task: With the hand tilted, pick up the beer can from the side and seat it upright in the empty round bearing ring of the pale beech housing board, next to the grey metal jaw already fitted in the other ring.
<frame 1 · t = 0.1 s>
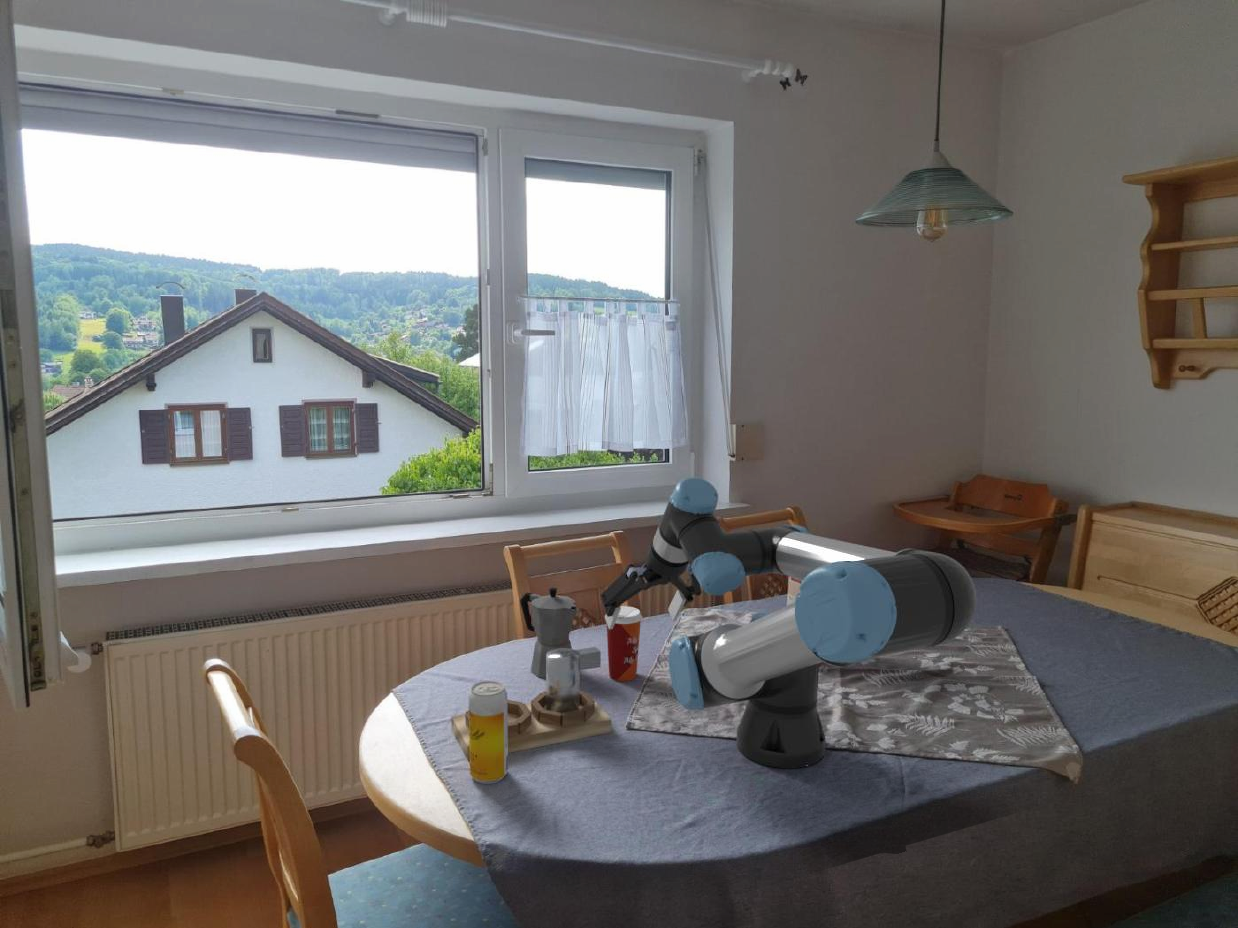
hand: (640, 619, 167), 15 cm above the table, tool tilted 35°, fingers open, 13 cm apart
cracker box: (817, 660, 188), on the table
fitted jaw: (562, 724, 156), resting on housing
housing: (531, 730, 154), on the table
paper cup: (622, 676, 178), on the table
beer can: (489, 776, 139), on the table
coffeepot: (549, 670, 181), on the table
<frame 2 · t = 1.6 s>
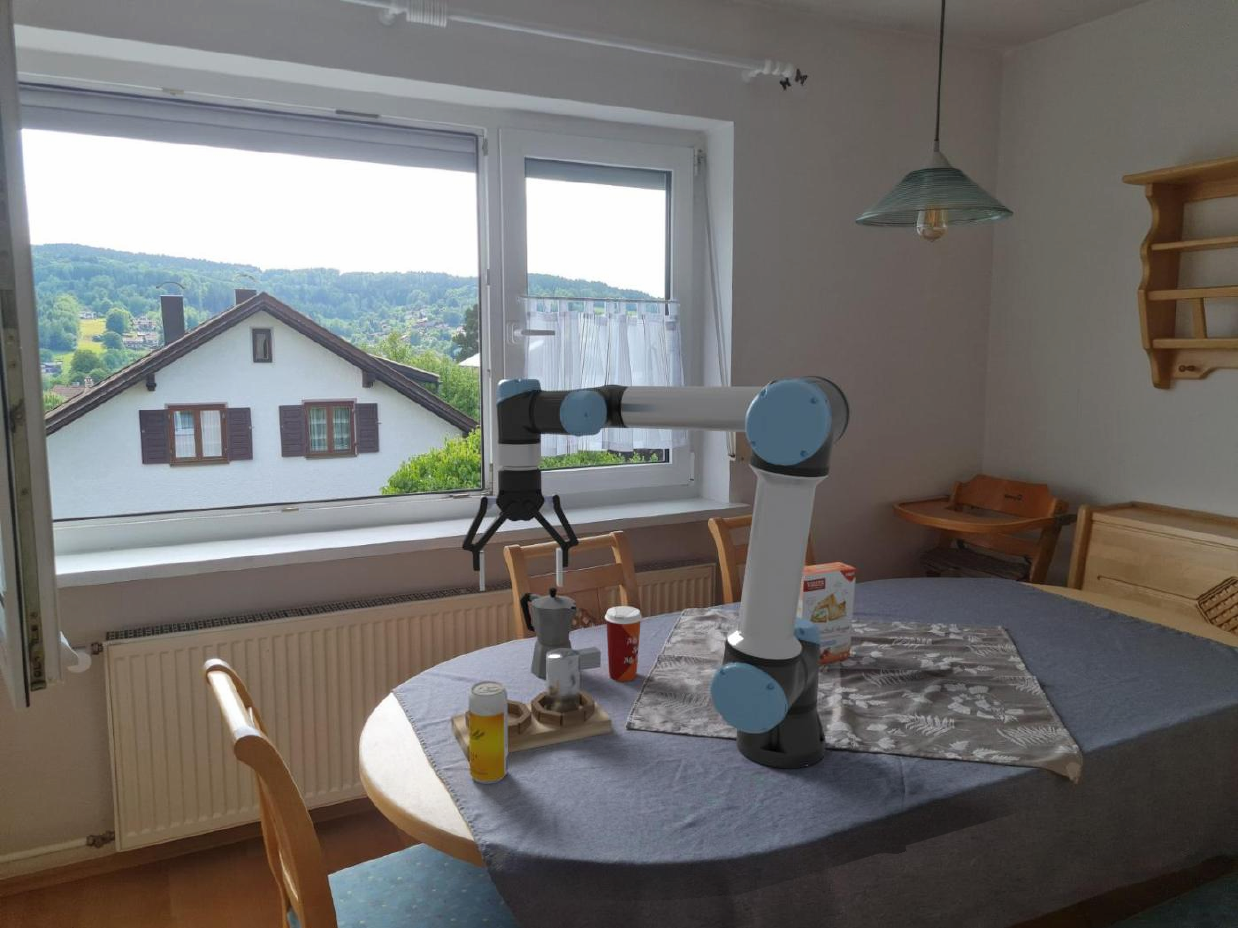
hand: (521, 587, 152), 26 cm above the table, tool pointing down, fingers open, 13 cm apart
nothing on the table moved.
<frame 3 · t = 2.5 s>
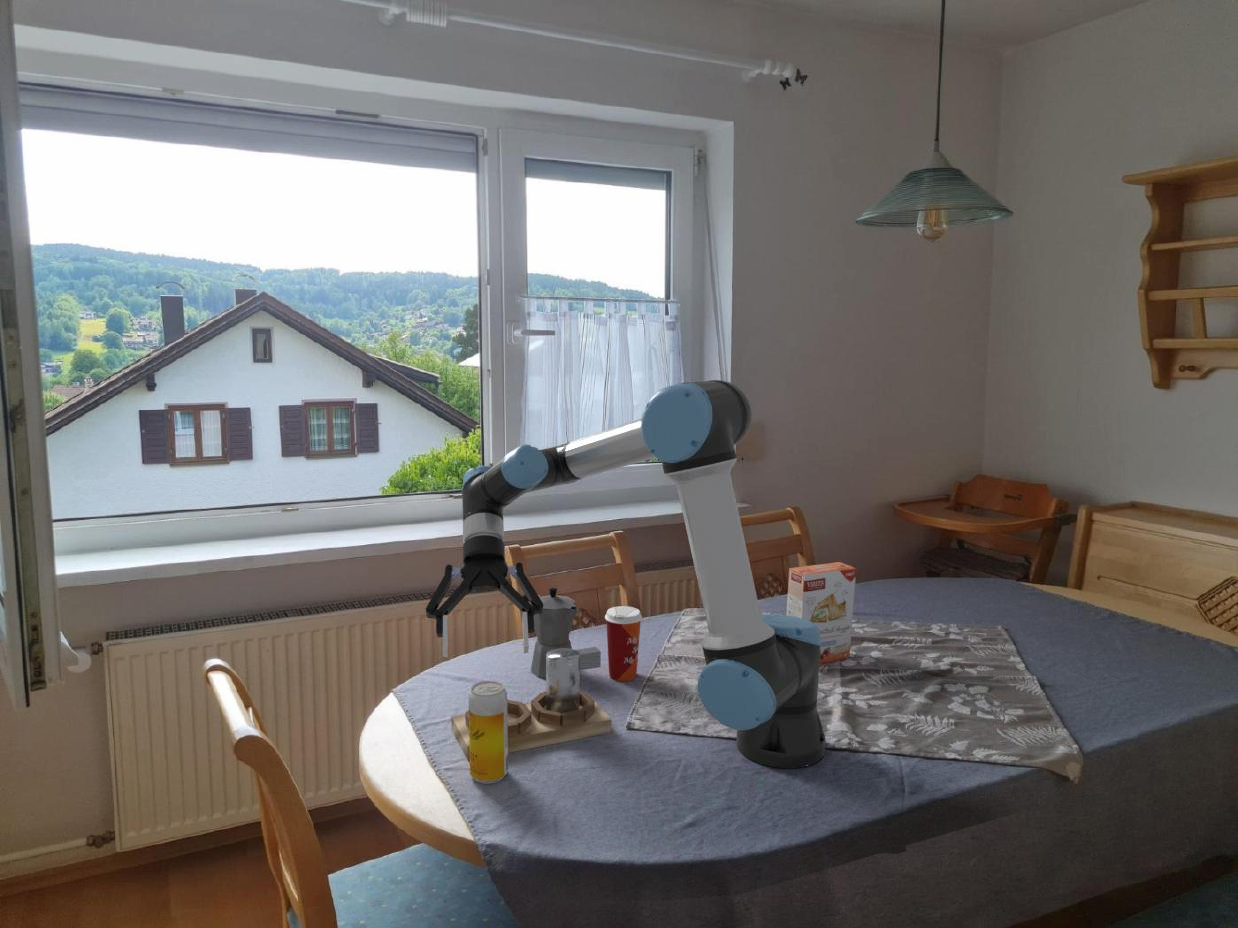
hand: (486, 652, 146), 17 cm above the table, tool tilted 45°, fingers open, 13 cm apart
nothing on the table moved.
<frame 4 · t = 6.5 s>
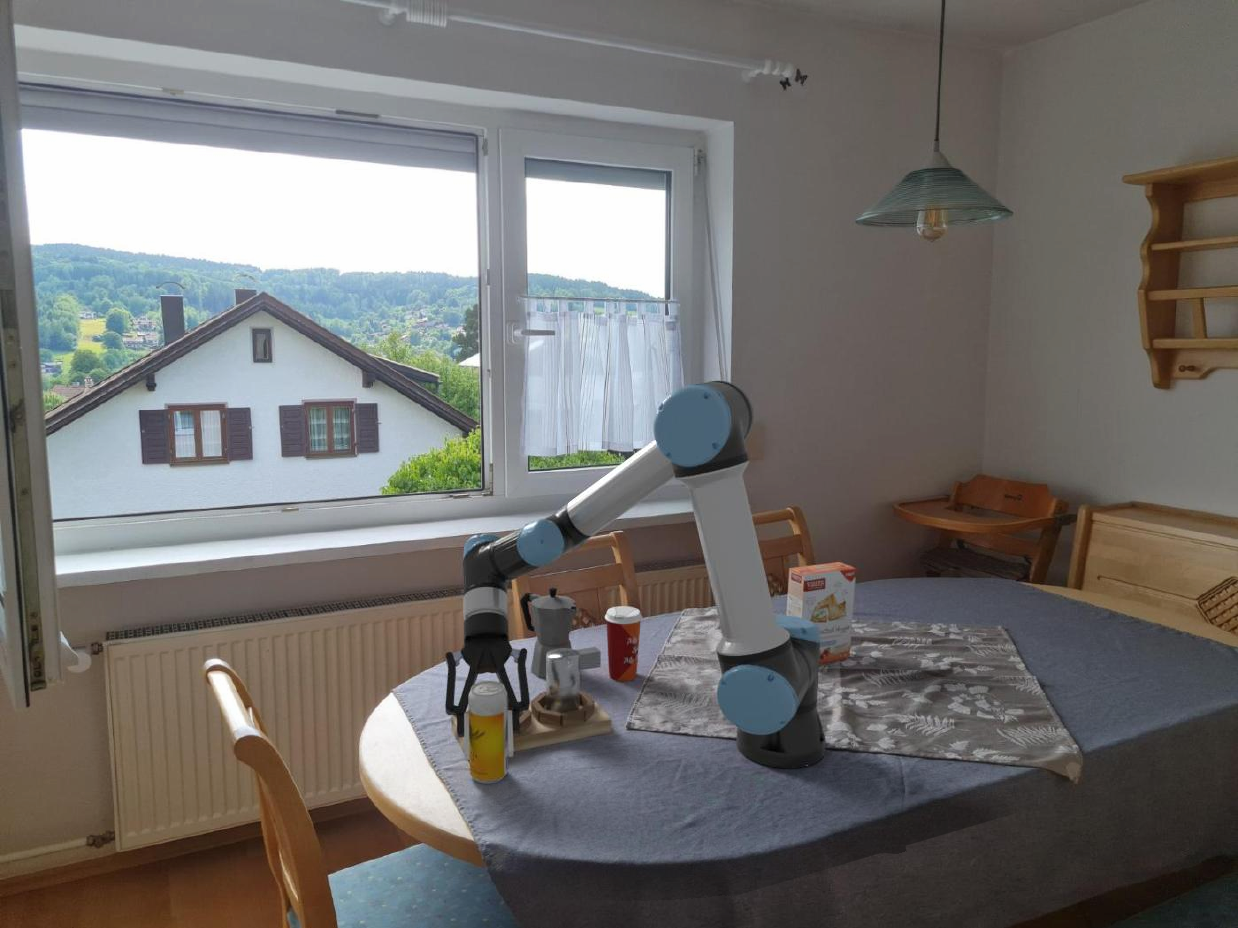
hand: (489, 755, 134), 5 cm above the table, tool tilted 45°, fingers closed on beer can, 6 cm apart
beer can: (489, 776, 139), on the table, touching gripper
everything else where it was.
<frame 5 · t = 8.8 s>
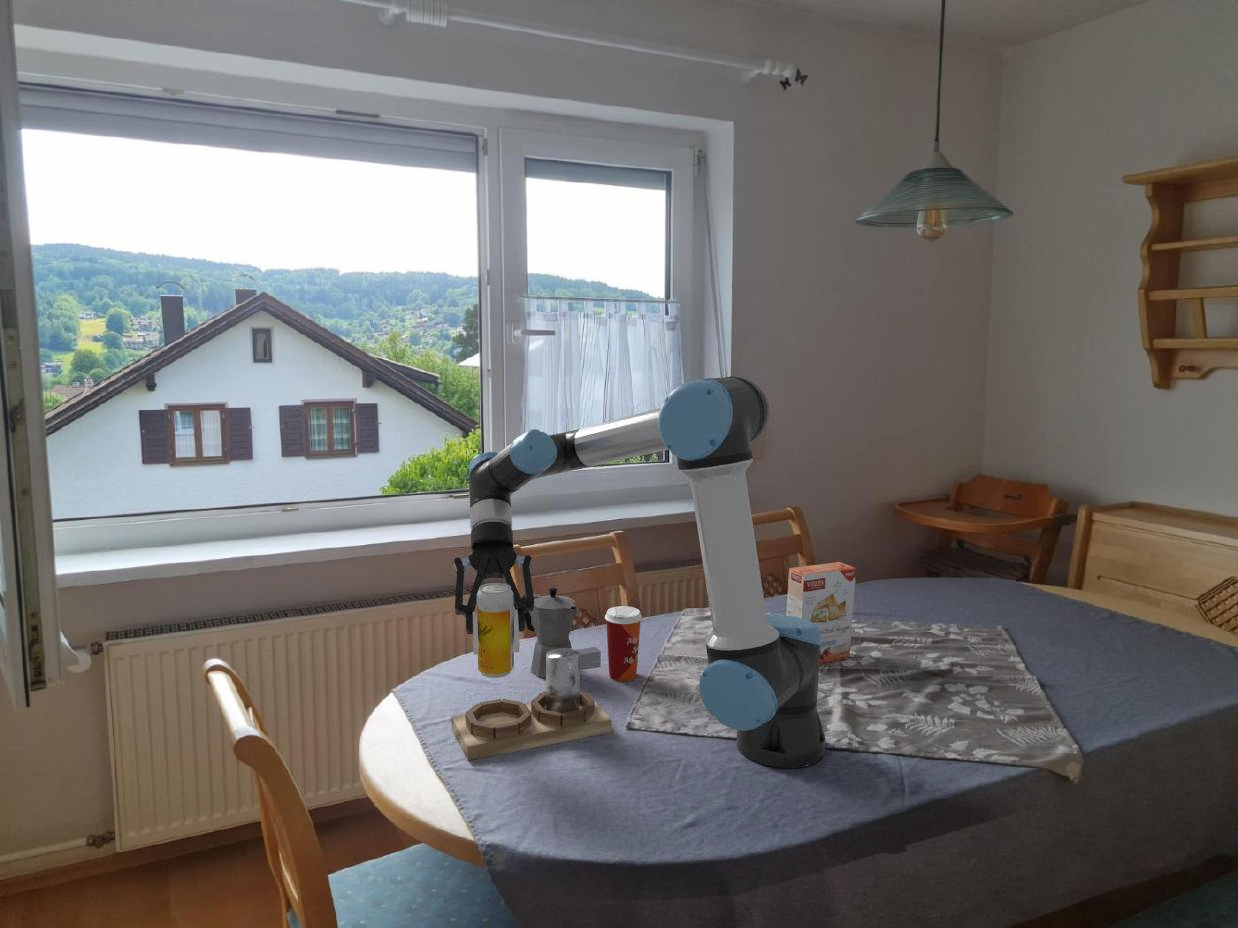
hand: (496, 649, 143), 18 cm above the table, tool tilted 45°, fingers closed on beer can, 6 cm apart
beer can: (495, 672, 147), point 13 cm above the table, touching gripper
everything else where it was.
when the fingers open (10 cm above the table, at t = 11.4 s): beer can drops 2 cm, resting on housing.
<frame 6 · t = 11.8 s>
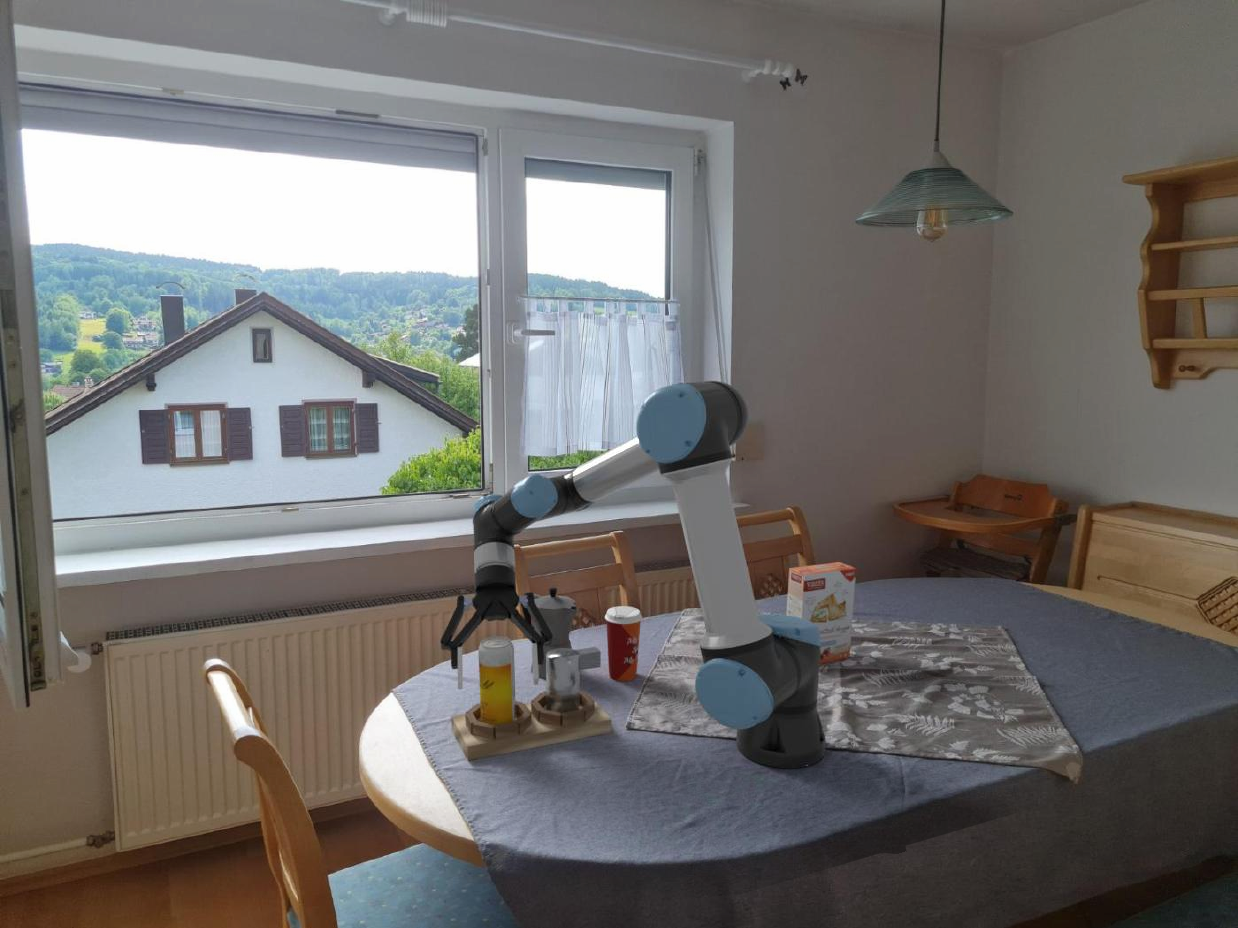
hand: (498, 684, 147), 11 cm above the table, tool tilted 45°, fingers open, 12 cm apart
beer can: (498, 724, 151), point 2 cm above the table, touching housing
everything else where it was.
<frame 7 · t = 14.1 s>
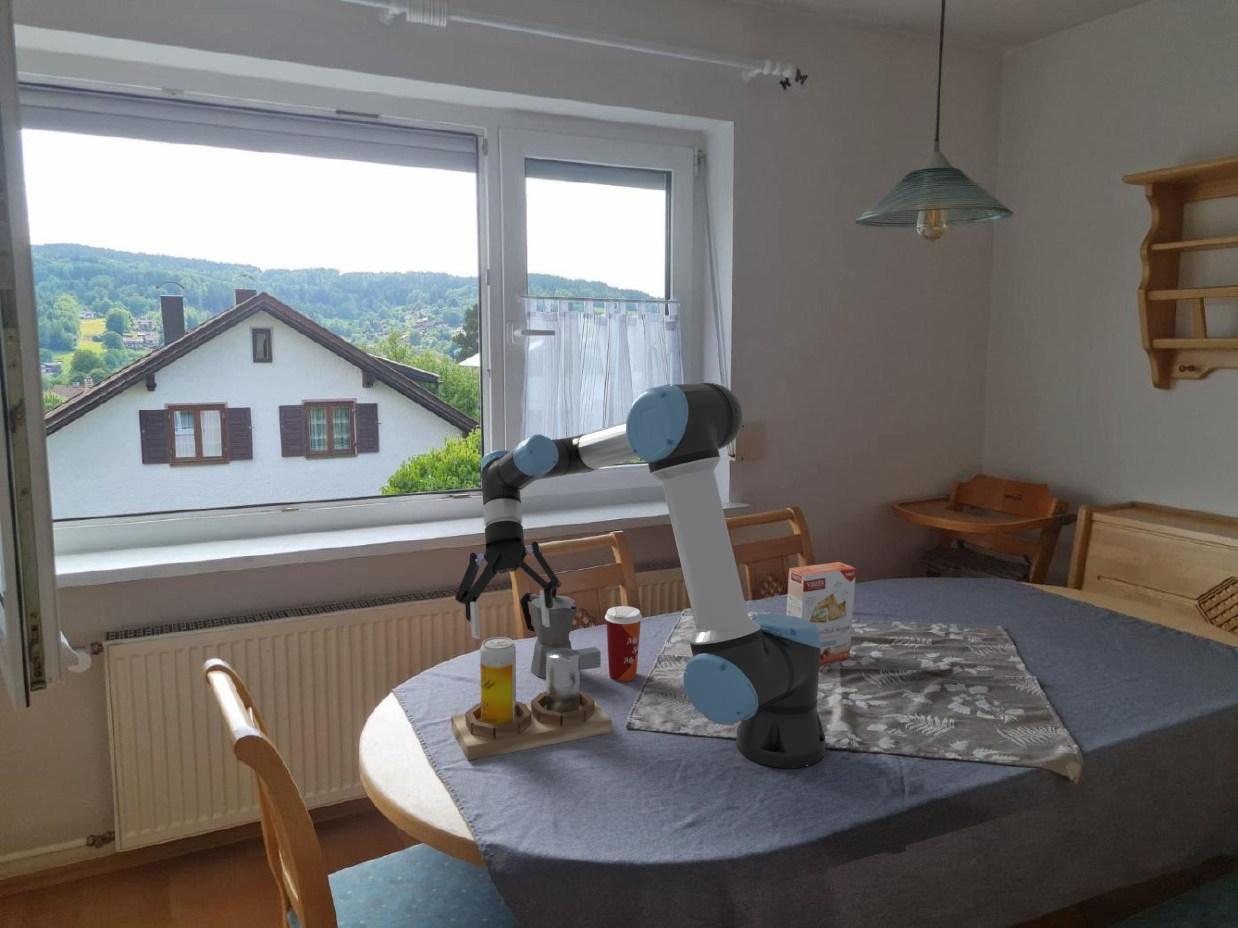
hand: (510, 631, 161), 15 cm above the table, tool tilted 35°, fingers open, 13 cm apart
nothing on the table moved.
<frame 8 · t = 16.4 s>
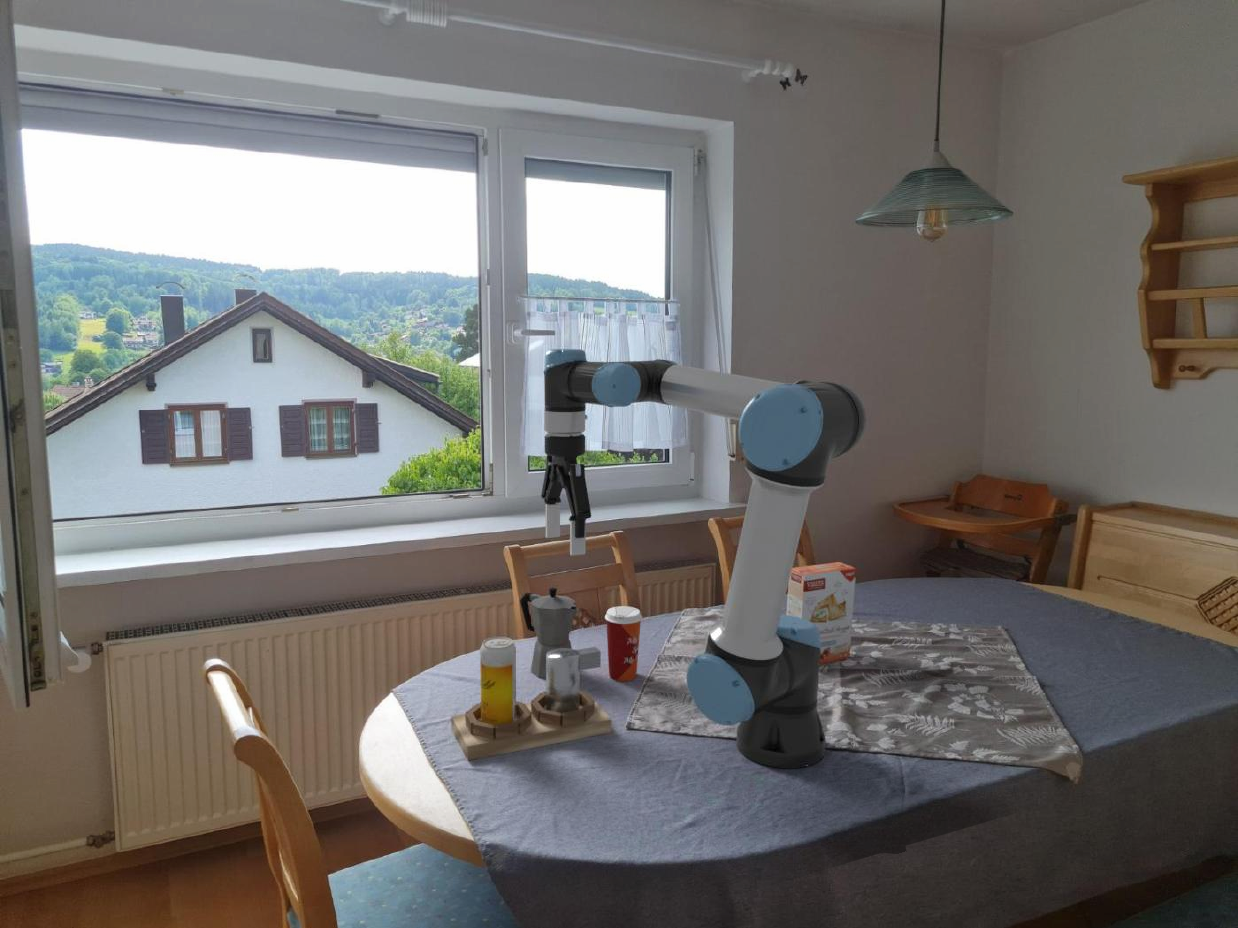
hand: (564, 545, 162), 31 cm above the table, tool pointing down, fingers open, 13 cm apart
nothing on the table moved.
at the end: beer can 0.0 cm from the target spot on the housing, point 2.3 cm above the housing's base; beer can tilted 0°; the gripper is holding nothing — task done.
